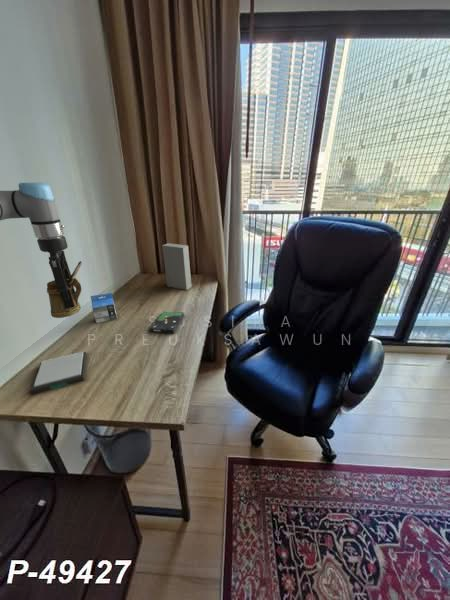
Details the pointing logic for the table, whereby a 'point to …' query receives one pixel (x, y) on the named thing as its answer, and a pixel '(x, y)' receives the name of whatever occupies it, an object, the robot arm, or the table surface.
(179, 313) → the disk drive
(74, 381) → the scale
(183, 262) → the upright grey slab
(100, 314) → the tape cartridge
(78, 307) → the wooden mug
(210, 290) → the table surface
